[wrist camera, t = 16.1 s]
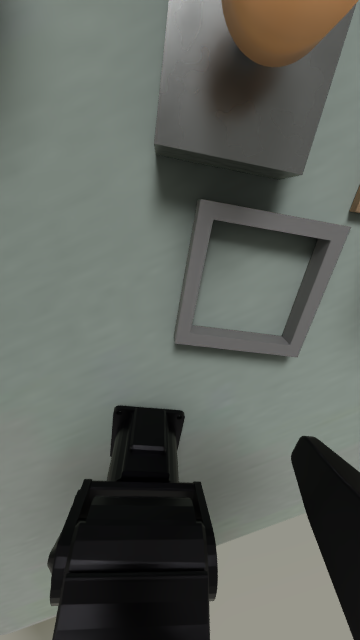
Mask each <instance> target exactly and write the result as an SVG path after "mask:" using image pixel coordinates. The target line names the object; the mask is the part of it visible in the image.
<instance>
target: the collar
mask: <svg viewBox="0 0 360 640" xmlns="http://www.w3.org/2000/svg"><path fill="white" fill-rule="evenodd" d="M213 220H219V221H224V222H230V223H235V224H241V225H247V226H252V227H258V228H263V229H269V230H275V231H280V232H286V233H292V234H297V235H303V236H308V237H314V238H318V240H317V243H316V245H315V248H314V251H313V254H312V256H311V259H310V262H309V264H308V267H307V270H306V272H305V275H304V278H303V281H302V283H301V286H300V289H299V291H298V294H297V297H296V300H295V302H294V305H293V308H292V310H291V313H290V316H289V318H288V321H287V324H286V327H285V329H284V332H283V335H282V336H276V335H268V334H260V333H252V332H243V331H235V330H227V329H219V328H211V327H203V326H195V325H192V322H193V317H194V312H195V307H196V302H197V297H198V293H199V288H200V283H201V278H202V273H203V268H204V263H205V258H206V253H207V248H208V243H209V238H210V234H211V229H212V224H213ZM350 229H351V227H348V226H342V225H337V224H332V223H326V222H321V221H316V220H310V219H305V218H300V217H294V216H289V215H284V214H278V213H273V212H268V211H262V210H257V209H252V208H246V207H241V206H235V205H230V204H225V203H219V202H214V201H209V200H203V199H198V200H197V206H196V212H195V217H194V223H193V229H192V235H191V240H190V246H189V252H188V258H187V263H186V269H185V275H184V280H183V286H182V292H181V298H180V303H179V309H178V315H177V320H176V326H175V332H174V339H175V343H176V344H184V345H193V346H202V347H211V348H220V349H228V350H237V351H246V352H255V353H263V354H272V355H281V356H290V357H298V355H299V352H300V350H301V348H302V345H303V343H304V340H305V338H306V336H307V333H308V331H309V328H310V326H311V323H312V321H313V319H314V316H315V314H316V311H317V309H318V306H319V304H320V302H321V299H322V297H323V294H324V292H325V290H326V287H327V285H328V282H329V280H330V277H331V275H332V273H333V270H334V268H335V265H336V263H337V260H338V258H339V256H340V253H341V251H342V248H343V246H344V244H345V241H346V239H347V236H348V234H349V231H350Z"/></svg>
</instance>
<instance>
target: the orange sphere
mask: <svg viewBox="0 0 360 640" xmlns="http://www.w3.org/2000/svg"><path fill="white" fill-rule="evenodd" d="M357 1H358V0H221V2H222V8H223V14H224V18H225V22H226V25H227V27H228V30H229V33H230V35H231V37H232V39H233V41H234V42H235V44H236V45H237V47H238V48H239V49H240V50H241V51H242V53H243V54H244V55H245V56H247V57H248V58H249V59H250V60H252V61H254V62H255V63H257V64H260V65H263V66H267V67H282V66H286V65H289V64H292V63H294V62H296V61H298V60H300V59H301V58H303V57H304V56H305V55H307V54H308V53H309V52H310V51H311V50H312V49H313V48H314V47H315V46H316V45H317V44H318V43H319V42H320V41H321V40H322V39H323V38H324V37H325V36H326V35H327V34H328V33H329V32H330V31H331V30H332V29H333V28H334V27H335V26H336V25H337V23H338V22H339V21H340V20H341V19H342V18H343V17H344V16H345V15H346V14H347V13H348V12H349V11H350V10H351V9H352V7H353V6H354V5H355V4H356V3H357Z"/></svg>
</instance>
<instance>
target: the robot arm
mask: <svg viewBox="0 0 360 640" xmlns="http://www.w3.org/2000/svg"><path fill="white" fill-rule="evenodd" d="M118 411H121V412H118ZM184 418H185V416H184V412H183V411H180V410H169V409H157V408H144V407H132V406H116V407H115V409H114V413H113V426H112V439H111V452H110V456H111V457H112V458H111V463H110V468H109V472H108V477H107V481H92V479H84V481H83V484H82V487H81V489H80V490H78V492H77V495H76V496H75V499H74V502H73V505H72V507H71V510H70V512H69V515H68V517H67V520H66V522H65V525H64V527H63V530H62V532H61V534H60V536H59V538H58V539H57V541H56V543H55V545H54V547H53V549H52V550H51V552H50V555H49V558H48V563H47V565H48V568H49V570H50V572H51V574H52V577H51V590H50V604H51V606H58V612H57V617H56V623H55V629H54V634H53V639H52V640H210V626H209V601H214V599H215V597H216V593H217V581H218V575H217V573H218V569H217V553H216V544H215V537H214V532H213V528H212V524H211V520H210V516H209V512H208V508H207V504H206V501H205V497H204V493H203V489H202V485H201V482H193V483H179V478H178V460H177V449H178V445H179V440H180V436H181V432H182V427H183V423H184ZM291 461H292V465H293V468H294V472H295V475H296V479H297V482H298V486H299V489H300V493H301V496H302V500H303V503H304V507H305V510H306V513H307V516H308V519H309V522H310V525H311V527H312V530H313V533H314V535H315V538H316V541H317V543H318V546H319V549H320V551H321V554H322V557H323V559H324V562H325V564H326V567H327V570H328V572H329V575H330V578H331V580H332V583H333V586H334V588H335V591H336V593H337V596H338V599H339V602H340V604H341V607H342V609H343V612H344V615H345V617H346V620H347V623H348V625H349V628H350V631H351V633H352V636H353V639H354V640H360V472H359V471H357V470H356V469H355V468H354V467H352V466H351V465H350V464H349V463H347V462H346V461H345V460H344V459H342V458H341V457H340V456H339V455H337V454H336V453H335V452H333V451H332V450H331V449H330V448H328V447H327V446H326V445H325V444H323V443H322V442H321V441H320V440H318V439H317V438H315V437H311V436H302V437H300V439H299V440H298V442H297V444H296V446H295V448H294V450H293V452H292V455H291Z"/></svg>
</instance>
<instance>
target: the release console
mask: <svg viewBox="0 0 360 640" xmlns="http://www.w3.org/2000/svg"><path fill="white" fill-rule="evenodd" d="M355 6H356V4H355V5H354V6H353V7H352V9H351V10H350V11H349V12H348V13H347V14H346V15H345V16H344V17H343V18H342V19H341V20H340V21H339V22H338V23H337V25H336V26H335V27H334V28H333V29H332V30H331V31H330V32H329V33H328V34H327V35H326V36H325V37H324V38H323V39H322V40H321V41H320V42H319V43H318V44H317V45H316V46H315V47H314V48H313V49H312V50H311V51H310V52H309V53H308V54H307V55H305V56H304V57H303V58H301V59H300V60H298V61H296V62H294V63H292V64H289V65H286V66H282V67H267V66H263V65H260V64H257V63H255V62H254V61H252V60H250V59H249V58H248V57H247V56H245V55H244V54H243V53H242V51H241V50H240V49H239V48H238V47H237V45H236V44H235V42H234V41H233V39H232V37H231V35H230V33H229V30H228V27H227V25H226V22H225V18H224V14H223V8H222V2H221V0H169V5H168V15H167V25H166V34H165V44H164V54H163V63H162V73H161V82H160V92H159V102H158V111H157V121H156V131H155V140H154V146H155V153H156V155H161V156H166V157H170V158H175V159H180V160H185V161H190V162H195V163H200V164H205V165H210V166H214V167H219V168H224V169H229V170H234V171H239V172H244V173H249V174H253V175H258V176H263V177H268V178H273V179H278V180H280V179H285V178H290V177H294V176H299V175H302V174H303V171H304V168H305V165H306V162H307V159H308V155H309V152H310V149H311V146H312V143H313V140H314V136H315V133H316V130H317V127H318V124H319V120H320V117H321V114H322V111H323V108H324V105H325V101H326V98H327V95H328V92H329V89H330V86H331V82H332V79H333V76H334V73H335V70H336V66H337V63H338V60H339V57H340V54H341V51H342V47H343V44H344V41H345V38H346V35H347V32H348V28H349V25H350V22H351V19H352V16H353V12H354V9H355Z"/></svg>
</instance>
